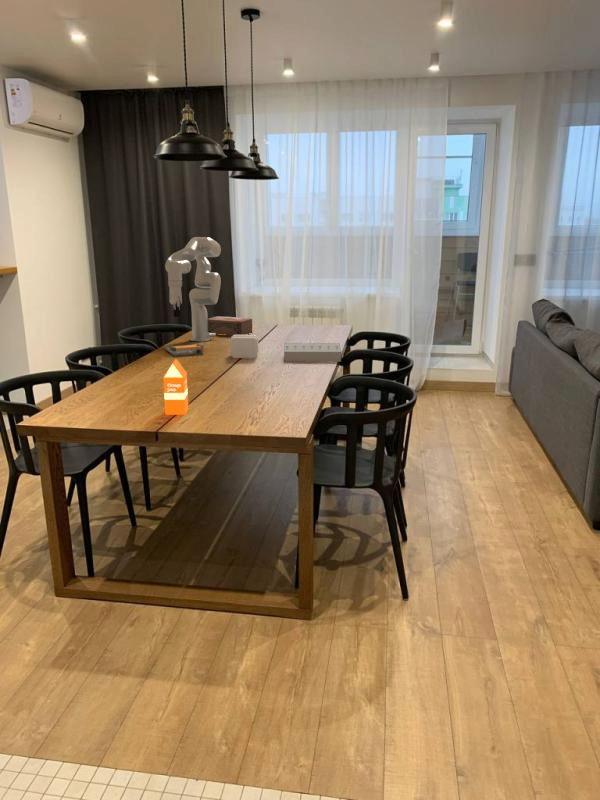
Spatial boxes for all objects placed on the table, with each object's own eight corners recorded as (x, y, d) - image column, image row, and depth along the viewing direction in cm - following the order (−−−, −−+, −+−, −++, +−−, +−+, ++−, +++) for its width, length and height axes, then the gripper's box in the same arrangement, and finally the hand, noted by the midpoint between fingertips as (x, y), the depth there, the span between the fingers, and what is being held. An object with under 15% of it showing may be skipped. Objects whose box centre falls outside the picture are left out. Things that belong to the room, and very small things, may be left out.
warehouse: (284, 362, 329) (284, 348, 327) (284, 356, 343) (284, 343, 341) (341, 362, 329) (341, 348, 327) (339, 356, 343) (339, 343, 341)
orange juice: (188, 408, 247) (186, 358, 241) (185, 414, 238) (183, 363, 233) (168, 408, 246) (166, 358, 241) (164, 414, 238) (161, 363, 232)
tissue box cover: (252, 333, 412) (252, 318, 409) (241, 337, 399) (241, 321, 396) (218, 331, 421) (217, 316, 418) (207, 334, 408) (206, 319, 406)
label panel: (195, 346, 366) (194, 342, 365) (206, 354, 345) (206, 350, 344) (164, 349, 359) (164, 345, 358) (174, 357, 338) (174, 352, 337)
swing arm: (201, 346, 352) (201, 342, 352) (204, 348, 347) (204, 344, 346) (170, 349, 345) (170, 345, 345) (173, 351, 340) (172, 347, 339)
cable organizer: (229, 359, 335) (228, 337, 332) (231, 355, 345) (231, 334, 342) (257, 359, 335) (257, 337, 331) (258, 355, 345) (258, 334, 342)
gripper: (165, 282, 352) (167, 315, 357) (171, 285, 339) (173, 318, 344) (178, 282, 355) (180, 314, 360) (185, 284, 342) (186, 318, 347)
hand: (177, 316), depth 352 cm, fingers closed
